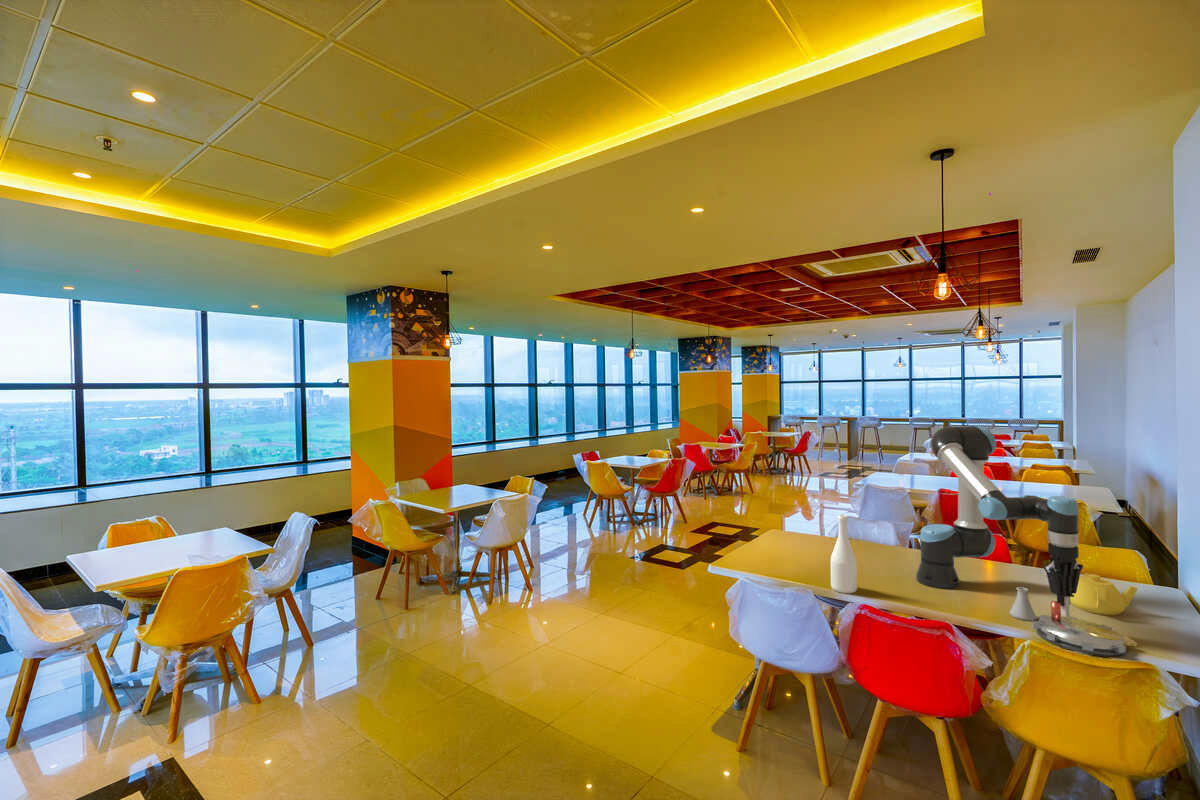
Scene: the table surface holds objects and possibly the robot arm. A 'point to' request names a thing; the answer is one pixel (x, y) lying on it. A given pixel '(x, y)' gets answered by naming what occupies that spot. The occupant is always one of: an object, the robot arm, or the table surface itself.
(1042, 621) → the turntable
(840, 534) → the wine bottle
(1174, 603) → the table surface
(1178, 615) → the table surface
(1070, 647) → the base
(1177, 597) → the table surface
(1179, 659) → the table surface
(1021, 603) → the flask
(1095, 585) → the teapot
